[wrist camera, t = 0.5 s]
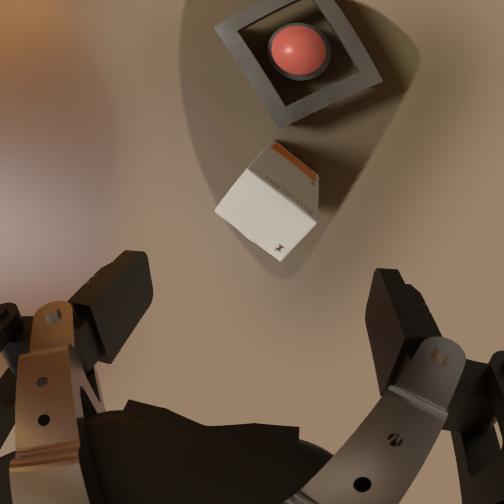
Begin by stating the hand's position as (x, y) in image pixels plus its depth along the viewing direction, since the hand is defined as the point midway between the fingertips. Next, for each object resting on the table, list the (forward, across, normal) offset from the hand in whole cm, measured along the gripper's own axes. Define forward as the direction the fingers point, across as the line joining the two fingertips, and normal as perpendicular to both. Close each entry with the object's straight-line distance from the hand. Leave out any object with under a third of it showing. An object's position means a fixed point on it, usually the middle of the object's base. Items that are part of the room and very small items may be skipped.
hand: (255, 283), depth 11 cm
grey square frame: (+21, -1, -11) cm, 24 cm away
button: (+20, -1, -11) cm, 23 cm away
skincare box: (+23, 0, +1) cm, 23 cm away
